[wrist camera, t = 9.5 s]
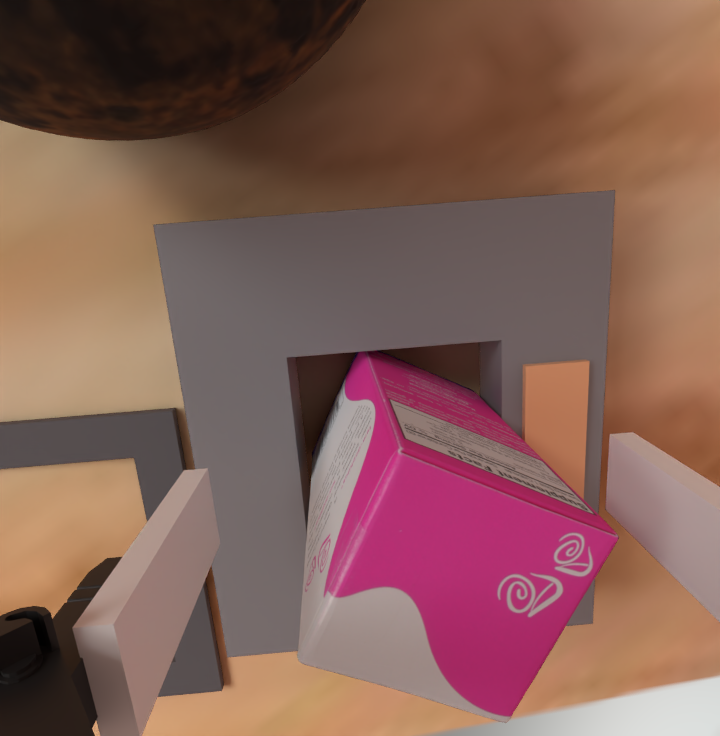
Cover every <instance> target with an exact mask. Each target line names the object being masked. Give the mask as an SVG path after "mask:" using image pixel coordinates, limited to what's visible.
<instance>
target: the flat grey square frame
mask: <svg viewBox="0 0 720 736" xmlns="http://www.w3.org/2000/svg"><path fill="white" fill-rule="evenodd" d="M125 458H134V459H135V464H136V469H137V474H138V479H139V484H140V489H141V494H142V499H143V503H144V508H145V513H146V518H147V522H148V520H149V519H150V517H151V516H152V515H153V513H154V512H155V510H156V509H157V508H158V506H159V505H160V503H161V502H162V501H163V499H164V498H165V496H166V495H167V493H168V492H169V491H170V489H171V488H172V486H173V485H174V484H175V482H176V481H177V479H178V478H179V476H180V475H181V474H182V472H183V471H184V470H186V466H185V461H184V455H183V449H182V444H181V438H180V432H179V427H178V421H177V415H176V410H175V408H169V409H157V410H145V411H133V412H121V413H109V414H97V415H84V416H72V417H60V418H48V419H36V420H24V421H12V422H0V469H6V468H18V467H30V466H41V465H53V464H65V463H77V462H89V461H101V460H113V459H125ZM223 685H224V682H223V676H222V670H221V665H220V659H219V653H218V648H217V642H216V636H215V631H214V625H213V619H212V614H211V608H210V602H209V597H208V591H207V585H206V580H205V582H204V584H203V587H202V589H201V592H200V594H199V596H198V599H197V601H196V604H195V606H194V609H193V611H192V614H191V616H190V618H189V621H188V623H187V626H186V628H185V631H184V633H183V636H182V638H181V640H180V643H179V645H178V648H177V650H176V653H175V655H174V658H173V660H172V662H171V665H170V667H169V670H168V672H167V675H166V677H165V679H164V682H163V684H162V687H161V689H160V692H159V694H158V697H161V696H172V695H183V694H193V693H204V692H215V691H222V689H223Z"/></svg>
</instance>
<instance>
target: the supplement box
mask: <svg viewBox="0 0 720 736" xmlns="http://www.w3.org/2000/svg"><path fill="white" fill-rule="evenodd" d="M618 538H619V536H618V535H617V533H616V532H615V531H614V530H613V529H612V528H611V527H610V526H609V525H608V524H607V523H606V522H605V521H604V520H603V519H602V518H601V517H600V516H599V515H598V514H597V513H596V512H595V511H594V510H593V509H592V508H591V507H590V506H589V505H588V504H587V503H586V502H585V501H584V500H583V499H582V498H581V497H580V496H579V495H578V494H577V493H576V492H575V491H574V490H573V489H572V488H571V487H570V486H569V485H568V484H567V483H566V482H565V481H564V480H563V479H562V478H561V477H560V476H559V475H558V474H557V473H556V472H555V471H554V470H553V469H552V468H551V467H550V466H549V465H548V464H547V463H546V462H545V461H544V460H543V459H542V458H541V457H540V456H539V455H538V454H537V453H536V452H535V451H534V450H533V449H532V448H531V447H530V446H529V445H528V444H527V443H526V442H525V441H523V440H522V439H521V438H520V437H519V436H518V435H517V434H516V433H515V432H514V431H513V430H512V429H511V427H510V426H508V425H507V424H506V423H505V422H504V421H503V420H502V419H501V417H500V416H499V415H497V414H496V413H495V412H494V411H493V410H492V409H491V408H490V407H489V406H488V405H487V404H486V403H485V402H484V401H483V400H482V399H481V398H480V397H479V396H478V395H477V394H476V393H475V392H474V391H473V390H471V389H469V388H466V387H464V386H461V385H459V384H457V383H454V382H452V381H450V380H447V379H445V378H443V377H440V376H438V375H436V374H433V373H431V372H429V371H426V370H424V369H422V368H419V367H417V366H415V365H412V364H410V363H408V362H405V361H403V360H401V359H398V358H396V357H393V356H391V355H389V354H386V353H384V352H381V351H379V350H374V351H362V352H356V354H355V356H354V358H353V360H352V362H351V365H350V367H349V369H348V371H347V373H346V375H345V378H344V380H343V382H342V384H341V387H340V389H339V391H338V393H337V396H336V398H335V400H334V402H333V405H332V407H331V409H330V411H329V414H328V416H327V418H326V421H325V423H324V425H323V428H322V430H321V432H320V435H319V437H318V440H317V442H316V445H315V447H314V450H313V452H312V474H311V488H310V501H309V513H308V526H307V539H306V551H305V564H304V580H303V594H302V605H301V618H300V633H299V646H298V654H297V657H298V660H299V662H301V663H302V664H305V665H308V666H312V667H316V668H319V669H323V670H327V671H331V672H334V673H338V674H342V675H345V676H349V677H352V678H356V679H360V680H364V681H367V682H371V683H375V684H378V685H382V686H385V687H389V688H393V689H396V690H399V691H403V692H406V693H409V694H413V695H416V696H419V697H422V698H426V699H429V700H432V701H435V702H438V703H442V704H445V705H448V706H451V707H454V708H457V709H461V710H464V711H467V712H470V713H474V714H477V715H480V716H483V717H487V718H490V719H493V720H496V721H500V722H505V723H506V722H508V721H509V720H510V718H511V716H512V714H513V712H514V710H515V709H516V708H517V706H518V704H519V703H520V701H521V699H522V698H523V696H524V694H525V692H526V691H527V689H528V688H529V686H530V685H531V683H532V681H533V680H534V678H535V676H536V675H537V673H538V671H539V670H540V668H541V666H542V665H543V663H544V661H545V660H546V658H547V656H548V655H549V653H550V651H551V650H552V648H553V646H554V645H555V643H556V641H557V640H558V638H559V636H560V635H561V633H562V631H563V630H564V628H565V626H566V625H567V623H568V621H569V620H570V618H571V616H572V615H573V613H574V611H575V610H576V608H577V606H578V605H579V603H580V601H581V600H582V598H583V597H584V595H585V593H586V592H587V590H588V589H589V587H590V585H591V583H592V582H593V580H594V578H595V577H596V575H597V574H598V572H599V571H600V569H601V567H602V565H603V564H604V562H605V560H606V559H607V557H608V556H609V554H610V552H611V551H612V549H613V547H614V546H615V544H616V542H617V540H618Z"/></svg>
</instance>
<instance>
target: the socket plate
mask: <svg viewBox="0 0 720 736" xmlns="http://www.w3.org/2000/svg"><path fill="white" fill-rule="evenodd" d="M614 203H615V190H610V191H597V192H583V193H570V194H557V195H543V196H530V197H517V198H503V199H490V200H477V201H463V202H450V203H436V204H423V205H410V206H396V207H383V208H370V209H356V210H343V211H330V212H316V213H303V214H290V215H276V216H263V217H250V218H236V219H223V220H209V221H196V222H183V223H169V224H156V225H153V226H154V232H155V238H156V243H157V249H158V255H159V261H160V267H161V273H162V278H163V284H164V290H165V296H166V302H167V308H168V313H169V319H170V325H171V331H172V337H173V343H174V348H175V354H176V360H177V366H178V372H179V378H180V383H181V389H182V395H183V401H184V407H185V413H186V418H187V424H188V430H189V436H190V442H191V448H192V453H193V459H194V465H195V469H205V468H208V473H209V479H210V485H211V491H212V497H213V503H214V509H215V515H216V521H217V527H218V533H219V539H220V545H219V548H218V550H217V552H216V555H215V557H214V560H213V562H212V570H213V576H214V582H215V588H216V593H217V599H218V605H219V611H220V617H221V623H222V628H223V634H224V640H225V646H226V652H227V657H237V656H248V655H259V654H270V653H280V652H291V651H298V646H299V633H300V618H301V605H302V594H303V580H304V564H305V551H306V539H307V526H308V513H309V501H310V482H309V473H308V464H307V455H306V446H305V436H304V427H303V418H302V409H301V400H300V391H299V382H298V372H297V363H296V357H300V356H313V355H325V354H337V353H350V352H362V351H374V350H387V349H399V348H412V347H424V346H436V345H449V344H461V343H474V342H479V350H480V398H481V399H482V400H483V401H484V402H485V403H486V404H487V405H488V406H489V407H490V408H491V409H492V410H493V411H494V412H495V413H496V414H497V415H499V416H500V417H501V419H502V420H503V421H504V422H505V423H506V424H507V425H508V426H510V427H511V429H512V430H513V431H514V432H515V433H516V434H517V435H518V436H519V437H520V438H521V439H522V440H523V441H525V442H526V443H527V444H528V445H529V446H530V447H531V448H532V449H533V450H534V451H535V452H536V453H537V454H538V455H539V456H540V457H541V458H542V459H543V460H544V461H545V462H546V463H547V464H548V465H549V466H550V467H551V468H552V469H553V470H554V471H555V472H556V473H557V474H558V475H559V476H560V477H561V478H562V479H563V480H564V481H565V482H566V483H567V484H568V485H569V486H570V487H571V488H572V489H573V490H574V491H575V492H576V493H577V494H578V495H579V496H580V497H581V498H582V499H583V500H584V501H585V502H586V503H587V504H588V505H589V506H590V507H591V508H592V509H593V510H594V511H595V512H596V513H597V514H598V512H599V492H600V473H601V454H602V434H603V415H604V396H605V377H606V357H607V338H608V319H609V299H610V280H611V261H612V242H613V222H614ZM594 589H595V578H594V580H593V582H592V583H591V585H590V587H589V589H588V590H587V592H586V593H585V595H584V597H583V598H582V600H581V601H580V603H579V605H578V606H577V608H576V610H575V611H574V613H573V615H572V616H571V618H570V620H569V621H568V623H567V625H566V626H572V625H583V624H593V608H594Z"/></svg>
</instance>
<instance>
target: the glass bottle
mask: <svg viewBox="0 0 720 736" xmlns="http://www.w3.org/2000/svg"><path fill="white" fill-rule="evenodd" d="M365 1H366V0H0V120H2V121H5V122H9V123H12V124H15V125H18V126H21V127H25V128H29V129H33V130H38V131H43V132H47V133H52V134H57V135H63V136H69V137H76V138H84V139H95V140H144V139H157V138H165V137H171V136H176V135H182V134H186V133H190V132H194V131H199V130H203V129H207V128H209V127H212V126H215V125H218V124H221V123H223V122H226V121H229V120H231V119H233V118H236V117H238V116H240V115H242V114H244V113H246V112H248V111H250V110H252V109H254V108H255V107H257V106H259V105H260V104H263V103H265V102H267V101H268V100H269V99H270V98H272V97H274V96H275V95H277V94H278V93H280V92H281V91H283V90H284V89H285V88H287V87H288V86H289V85H290V84H292V83H293V82H294V81H296V80H297V79H298V78H299V77H300V76H302V75H303V74H304V73H305V72H306V71H307V70H308V69H309V68H310V67H311V66H312V65H313V64H314V63H315V62H317V61H318V60H319V59H320V58H321V57H322V56H323V55H324V54H325V53H326V52H327V51H328V50H329V48H330V47H331V46H332V44H333V43H334V42H335V41H336V40H337V39H338V38H339V37H340V36H341V35H342V33H343V32H344V30H345V28H346V27H347V26H348V25H349V24H350V23H351V22H352V20H353V19H354V17H355V16H356V15H357V13H358V12H359V10H360V8H361V6H362V4H363V3H364V2H365Z"/></svg>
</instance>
